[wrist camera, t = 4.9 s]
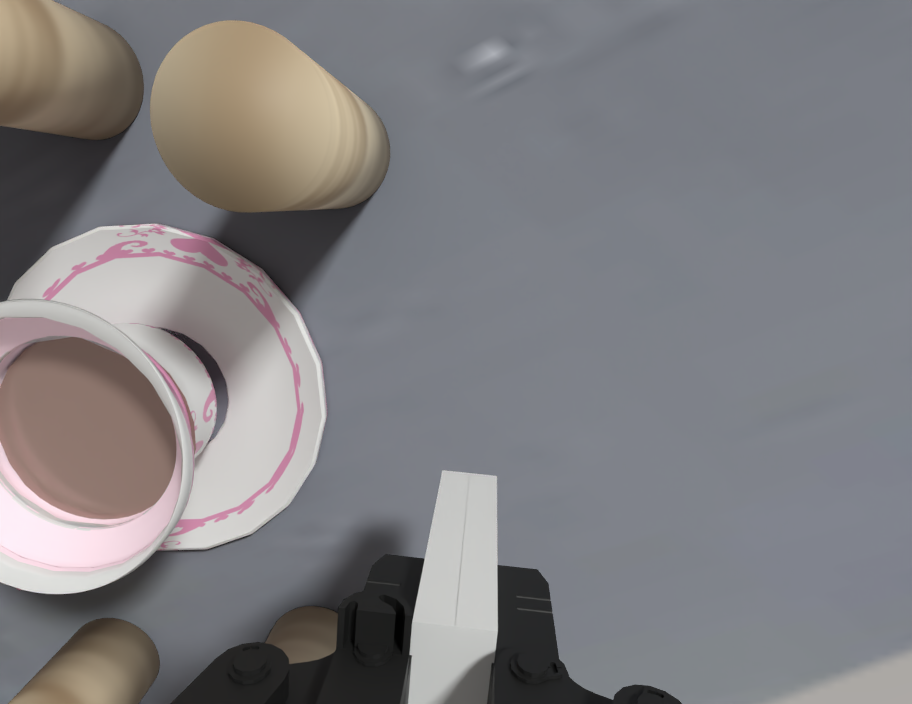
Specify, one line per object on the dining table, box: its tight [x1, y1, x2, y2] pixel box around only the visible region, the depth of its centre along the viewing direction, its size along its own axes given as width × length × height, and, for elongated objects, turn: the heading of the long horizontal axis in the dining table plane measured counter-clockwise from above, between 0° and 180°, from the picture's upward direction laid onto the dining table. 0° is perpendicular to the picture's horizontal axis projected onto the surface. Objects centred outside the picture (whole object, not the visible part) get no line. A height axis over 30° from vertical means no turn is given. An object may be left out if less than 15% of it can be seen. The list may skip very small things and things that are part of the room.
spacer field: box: [0, 0, 390, 704], centre depth 19 cm, size 20×27×8 cm
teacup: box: [0, 224, 328, 594], centre depth 20 cm, size 12×12×6 cm
